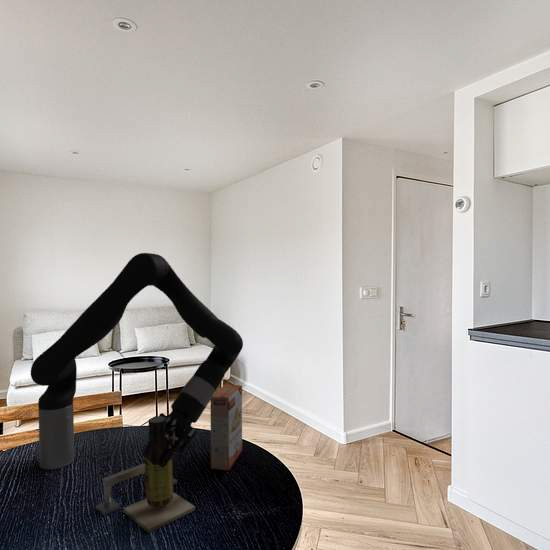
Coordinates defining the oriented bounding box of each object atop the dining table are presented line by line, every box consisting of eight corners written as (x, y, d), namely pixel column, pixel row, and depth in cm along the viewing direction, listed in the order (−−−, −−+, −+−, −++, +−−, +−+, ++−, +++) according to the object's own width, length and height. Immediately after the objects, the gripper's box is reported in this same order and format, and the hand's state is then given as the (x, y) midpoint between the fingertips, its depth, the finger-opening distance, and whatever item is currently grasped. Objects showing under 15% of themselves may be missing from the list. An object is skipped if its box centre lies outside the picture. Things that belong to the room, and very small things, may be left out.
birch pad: (123, 511, 98) (123, 508, 98) (168, 491, 107) (168, 488, 107) (148, 533, 90) (148, 529, 90) (195, 510, 99) (195, 506, 99)
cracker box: (230, 471, 117) (229, 397, 117) (209, 470, 119) (208, 396, 118) (243, 450, 131) (242, 384, 131) (225, 449, 132) (224, 383, 132)
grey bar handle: (95, 508, 100) (95, 478, 100) (169, 478, 114) (169, 451, 114) (102, 515, 97) (102, 484, 97) (177, 483, 111) (177, 456, 111)
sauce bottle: (150, 494, 102) (148, 413, 102) (176, 493, 102) (174, 413, 102) (142, 509, 95) (139, 423, 95) (169, 509, 95) (167, 422, 95)
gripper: (169, 385, 109) (126, 444, 100) (201, 396, 99) (157, 463, 90) (186, 400, 113) (147, 459, 104) (219, 413, 102) (179, 478, 94)
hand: (152, 460), depth 97 cm, fingers closed on sauce bottle, 6 cm apart
